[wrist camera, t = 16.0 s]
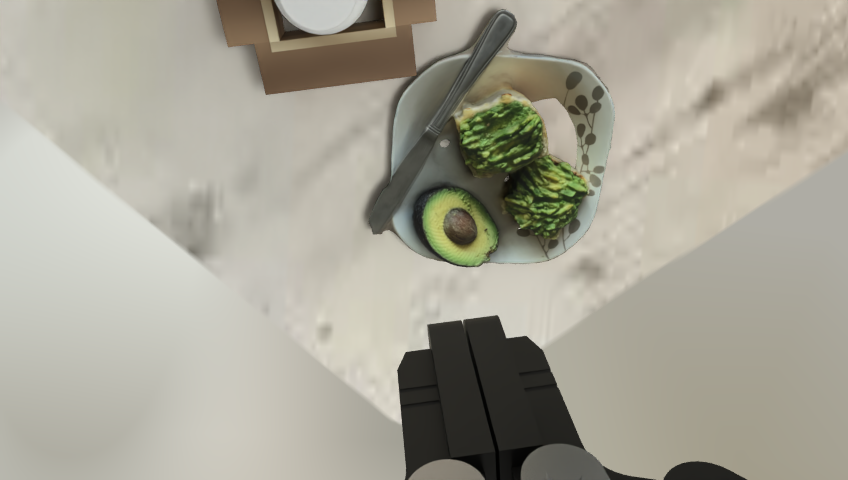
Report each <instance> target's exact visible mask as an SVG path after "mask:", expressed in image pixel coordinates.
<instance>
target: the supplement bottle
mask: <svg viewBox="0 0 848 480" xmlns="http://www.w3.org/2000/svg"><path fill="white" fill-rule="evenodd" d="M274 1H275V3H276V5H277V7H278V9H279V10H280V12H281V13H282V14H283V16H284V17H285V18H286V19H287V20H288V21H289V22H290V23H292V24H293V25H294V26H296V27H297V28H299V29H301V30H303V31H306V32H308V33H312V34H318V35H329V34H334V33H337V32H340V31H342V30H345V29H346V28H348V27H349V26H351V25H352V24H353V23H354V22H355V21H356V20H357V19H358V18H359V17H360V15H361V14H362V12H363V11H364V8H365V6H366V4H367V1H368V0H274Z"/></svg>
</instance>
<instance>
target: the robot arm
mask: <svg viewBox="0 0 848 480" xmlns="http://www.w3.org/2000/svg"><path fill="white" fill-rule="evenodd" d="M427 326H428V337H429V346H430V349H426V350H418V351H411V352H406V353H405V355H404V357H403V359H402V361H401V364H400V366H399V368H398V370H397V371H398V383H399V394H400V405H401V416H402V427H403V438H404V449H405V461H406V478H405V480H653V479H647V478H639V477H632V476H627V475H623V474H620V473H617V472H614V471H612V470H609V469H607V468H606V467H604V466H602V464H601V463H600V462H599V461H598V460H597V459H596V458H595V457H594V456H593V455H592V454H590V453H589V452H587V451H586V450H585V448H584V446H583V445H582V443H581V440H580V438H579V435H578V433H577V431H576V428H575V426H574V424H573V421H572V419H571V416H570V414H569V412H568V410H567V407H566V405H565V402H564V400H563V397H562V395H561V393H560V390H559V388H557V383H556V381H555V378H554V376H553V374H552V372H551V370H550V367H549V365H548V362H547V360H546V357H545V355H544V352H543V350H542V349H540V348H539V347H538V346H537V345H536V344H535V343H534V342H532V341H531V340H530V339H529V338H528V337H527V336H522V337H515V338H507V339H506V336H505V333H504V330H503V327H502V325H501V322H500V319H499V317H498V315H496V316H489V317H481V318H473V319H466V320H463V324H462V321H461V320H459V321H452V322H444V323H436V324H429V325H427ZM664 480H747V479H745V478H743V477H741V476H739V475H737V474H735V473H734V472H732V471H730V470H728V469H726V468H724V467H721V466H718V465H715V464H712V463H707V462H698V461H697V462H686V463H682V464H680V465H677V466H675V467H674V468H672V469H671V470H670V471H669V472H668V473H667V474H666V476H665V477H664Z"/></svg>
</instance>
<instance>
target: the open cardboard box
mask: <svg viewBox="0 0 848 480" xmlns="http://www.w3.org/2000/svg"><path fill="white" fill-rule="evenodd" d="M216 1H217V5H218V9H219V13H220V17H221V21H222V25H223V29H224V33H225V36H226V40H227V44H228V47H233V46H241V45H249V44H254V46H255V50H256V54H257V58H258V63H259V67H260V71H261V76H262V80H263V84H264V89H265V93H266V95H268V94H276V93H284V92H292V91H300V90H307V89H315V88H323V87H331V86H339V85H346V84H354V83H362V82H370V81H378V80H386V79H393V78H401V77H409V76H417V73H416V64H415V55H414V45H413V36H412V27H411V24H417V23H425V22H433V21H437V20H436V9H435V0H381V1H382V9H383V17H384V20H377V21H369V22H361V23H353V24H352V25H351V26H349V27H348V28H346V29H345V30H342V31H340V32H337V33H334V34H329V35H318V34H312V33H308V32H306V31H303V30H297V31H289V32H285V30H284V25H283V20H282V15H281V12H280V10H279V9H278V7H277V5H276V3H275V1H274V0H216Z"/></svg>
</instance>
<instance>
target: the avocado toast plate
mask: <svg viewBox="0 0 848 480" xmlns="http://www.w3.org/2000/svg"><path fill="white" fill-rule="evenodd" d="M516 25H517V21H516V19H515V17H514V15H513V14H512V13H510V12H509V11H507V10H504V9H502V10H499V11H497V12H496V13H495V14H494V15H493V16H492V17H491V19H490V21H489V22H488V24H487V25H486V27H485V28H484V30H483V32H482V33H481V35H480V36H479V38H478V40H477V41H476V42H475V44H474V45H473V46H472V47H471V48H469V49H468V50H466V51H464V52H461V53H458V54H456V55H453V56H449V57H446V58H443V59H441V60H438V61H437V62H435V63H434V64H433V65H432V66H431V67H429V68H428V69H426V70H425V71H424V72H423V73H422V74H420V75H419V76H418V77H417V78H416V79H415V80H414V81H413V82H412V83H411V84H410V85H409V86H408V87H407V88H406V89H405V90H404V92H403V95H402V96H401V98H400V100H399V102H398V106H397V109H396V114H395V118H394V124H393V134H392V156H391V172H392V173H391V179H390V183H389V184H388V186H387V187H386V188H384V189H383V190H382V192H381V194H380V196H379V198H378V199H377V201H376V203H375V206H374V208H373V210H372V213H371V216H370V218H369V224H370V226H371V228H372V232H373V234H382V232H383V231H385V230H390V231H392V232H394V233H395V234H396V235H397V236H398V237H399V238H400V239H401V240H402V241H403V242H404V243H405V244H406V245H407V246H408V247H409V248H411V249H412V250H413V251H415V252H416V253H418V254H420V255H422V256H424V257H426V258H430V259H434V260H438V261H444V262H448V263H450V264H453V265H456V266H462V267H478V266H481V265H482V264H483V263H499V264H504V263H511V264H527V263H540V262H544V261H549V260H551V259H554V258H556V257H558V256H560V255H561V254H563V253H565V252H566V251H567V250H568V249H569V248H571V247H572V246H573V245H574V244H575V243H577V242H578V241H579V240H580V239H581V238H582V237H583V236H584V234H585V233H586V232H587V231H588V229H589V228H590V225H591V223H592V221H593V218H594V216H595V213H596V210H597V206H598V201H599V197H600V192H601V187H602V182H603V176H604V172H605V168H606V161H607V157H608V153H609V150H610V148H611V139H612V132H613V124H614V119H615V111H614V105H613V102H612V99H611V96H610V94H609V91H608V88H607V87H606V86H605V85H604V84H603V82H602V81H601V80H600V78H599V77H598V76H597V75H596V73H595V72H594V70H593V69H592V68H591V67H590V66H589V65H588V64H586V63H583V62H580V61H577V60H573V59H563V58H557V57H553V56H546V55H532V54H522V53H520V52H515V51H512V50H510V49H509V48H508V42H509V39H510V37H511V36H512V35H513V33H514V32H515V29H516ZM549 98H556V99H557V100H558V101H559V102H560V103H561V104H562V105H563V106H564V107H565V109H566V110H567V112H568V114H569V116H570V118H571V120H572V122H573V124H574V127H575V131H576V135H577V142H578V145H577V160H576V166H575V168H573V167H572V166H570V165H569V164H568V163H566V162H563V161H562V160H560V159H558V158H556V157H554V156H552V155H550V154H549V152H548V139H547V133H546V128H545V124H544V121H543V119H542V117H541V116H540V114H539V113H538V112H537V110H536V108H535V107H534V106H533V105H532V102H536V101H539V100H542V99H549ZM444 139H448V140H449V141H450V144H449V146H448V147H445V148H444V147H441V146H440V142H441V141H442V140H444ZM508 175H509V176H510V177H509V180H508V181H507V182H504V180H505V178H506V177H507V176H508ZM518 228H521V229H518Z"/></svg>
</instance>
